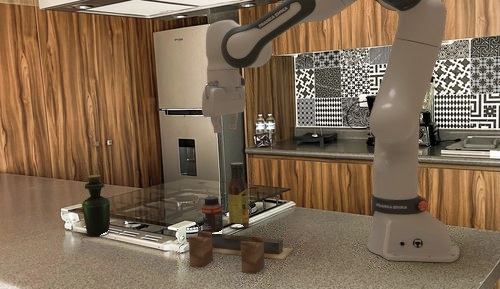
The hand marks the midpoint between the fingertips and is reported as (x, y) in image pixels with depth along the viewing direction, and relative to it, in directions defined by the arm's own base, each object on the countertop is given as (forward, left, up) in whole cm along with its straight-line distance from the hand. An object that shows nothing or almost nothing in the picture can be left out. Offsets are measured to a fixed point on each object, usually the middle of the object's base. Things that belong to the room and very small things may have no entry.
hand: (225, 131), depth 141 cm
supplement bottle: (+7, -3, -31) cm, 32 cm away
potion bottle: (+42, +6, -31) cm, 53 cm away
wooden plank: (-8, +7, -31) cm, 33 cm away
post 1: (-1, +19, -31) cm, 36 cm away
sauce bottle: (+3, -13, -31) cm, 34 cm away
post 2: (-15, +19, -31) cm, 39 cm away
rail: (-8, +7, -31) cm, 33 cm away
